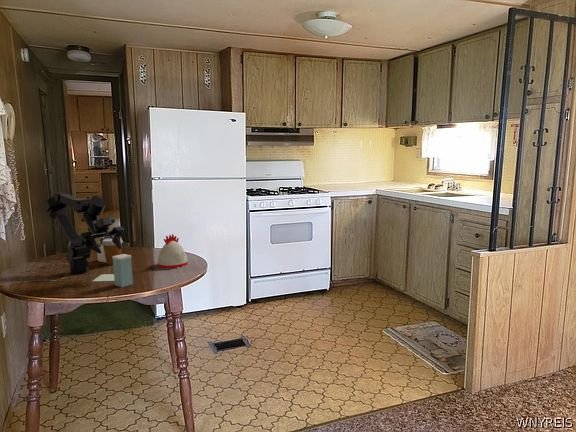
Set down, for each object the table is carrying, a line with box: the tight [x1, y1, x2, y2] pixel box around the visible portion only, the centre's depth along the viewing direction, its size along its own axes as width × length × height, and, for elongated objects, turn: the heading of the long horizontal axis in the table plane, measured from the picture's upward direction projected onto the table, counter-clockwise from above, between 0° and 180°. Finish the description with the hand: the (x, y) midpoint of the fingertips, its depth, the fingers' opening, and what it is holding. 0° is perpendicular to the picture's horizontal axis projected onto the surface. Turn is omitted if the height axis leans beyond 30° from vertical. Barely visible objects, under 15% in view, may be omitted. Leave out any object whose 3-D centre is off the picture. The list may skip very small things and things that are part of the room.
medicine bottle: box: [96, 236, 111, 264], centre depth 212 cm, size 7×7×12 cm
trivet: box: [91, 273, 115, 282], centre depth 183 cm, size 10×10×1 cm
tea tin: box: [112, 253, 134, 288], centre depth 172 cm, size 5×5×12 cm
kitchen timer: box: [157, 234, 189, 269], centre depth 202 cm, size 14×14×15 cm
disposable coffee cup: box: [102, 237, 124, 266], centre depth 206 cm, size 10×10×12 cm
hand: (111, 250), depth 176 cm, fingers open, 9 cm apart
